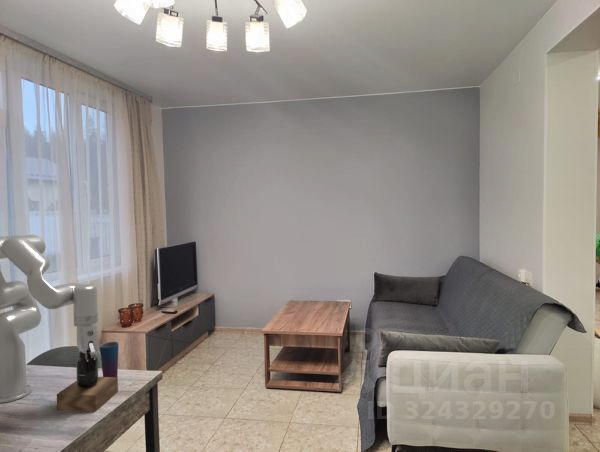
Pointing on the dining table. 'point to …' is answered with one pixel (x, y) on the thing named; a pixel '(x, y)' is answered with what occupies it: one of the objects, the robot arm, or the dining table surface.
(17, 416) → the dining table surface
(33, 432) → the dining table surface
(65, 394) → the walnut block
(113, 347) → the cup
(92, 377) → the supplement bottle
